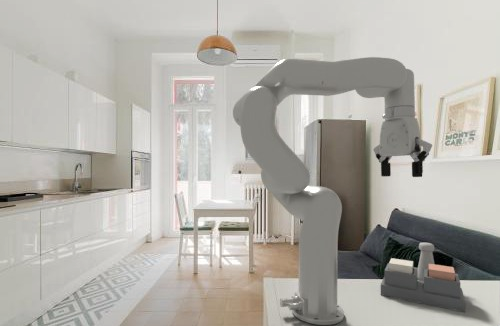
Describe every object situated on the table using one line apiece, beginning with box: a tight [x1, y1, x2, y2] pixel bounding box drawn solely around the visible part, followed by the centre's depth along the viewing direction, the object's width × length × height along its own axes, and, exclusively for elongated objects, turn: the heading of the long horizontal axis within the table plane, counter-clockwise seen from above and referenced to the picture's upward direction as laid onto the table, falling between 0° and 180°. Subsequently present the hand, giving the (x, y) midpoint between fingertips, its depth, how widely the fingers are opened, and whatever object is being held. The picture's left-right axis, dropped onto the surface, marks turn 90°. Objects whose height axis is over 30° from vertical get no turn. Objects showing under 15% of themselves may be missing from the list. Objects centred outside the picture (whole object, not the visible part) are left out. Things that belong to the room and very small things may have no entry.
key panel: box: [380, 262, 466, 313], centre depth 86 cm, size 20×10×7 cm, turn 59°
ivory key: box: [388, 257, 414, 274], centre depth 89 cm, size 6×6×4 cm
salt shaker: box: [417, 242, 436, 281], centre depth 97 cm, size 6×6×13 cm
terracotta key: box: [429, 264, 456, 281], centre depth 84 cm, size 6×6×4 cm
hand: (400, 176), depth 83 cm, fingers open, 9 cm apart
